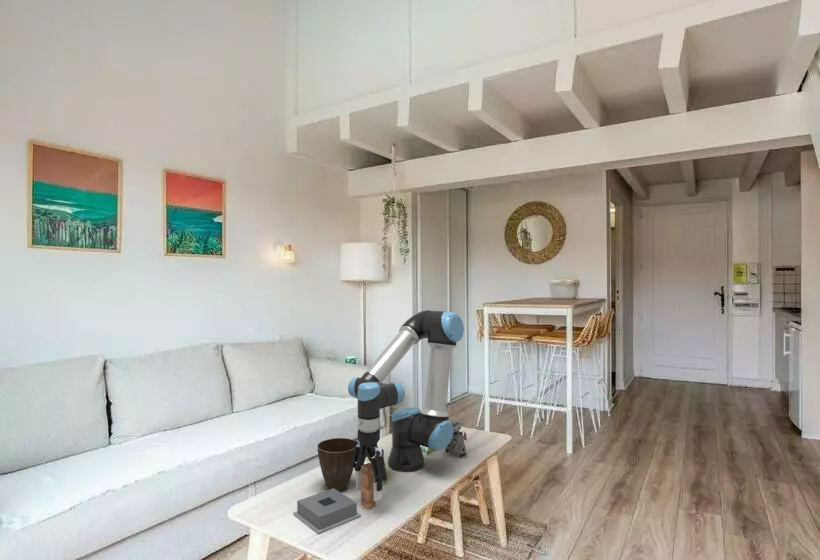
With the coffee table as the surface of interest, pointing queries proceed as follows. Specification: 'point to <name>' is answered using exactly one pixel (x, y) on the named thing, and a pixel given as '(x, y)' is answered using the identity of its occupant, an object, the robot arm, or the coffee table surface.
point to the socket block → (326, 510)
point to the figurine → (457, 440)
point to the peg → (367, 486)
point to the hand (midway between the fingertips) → (368, 494)
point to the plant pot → (336, 462)
